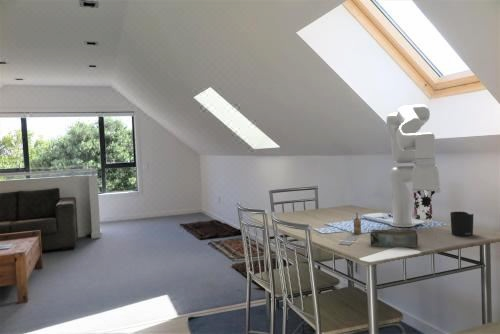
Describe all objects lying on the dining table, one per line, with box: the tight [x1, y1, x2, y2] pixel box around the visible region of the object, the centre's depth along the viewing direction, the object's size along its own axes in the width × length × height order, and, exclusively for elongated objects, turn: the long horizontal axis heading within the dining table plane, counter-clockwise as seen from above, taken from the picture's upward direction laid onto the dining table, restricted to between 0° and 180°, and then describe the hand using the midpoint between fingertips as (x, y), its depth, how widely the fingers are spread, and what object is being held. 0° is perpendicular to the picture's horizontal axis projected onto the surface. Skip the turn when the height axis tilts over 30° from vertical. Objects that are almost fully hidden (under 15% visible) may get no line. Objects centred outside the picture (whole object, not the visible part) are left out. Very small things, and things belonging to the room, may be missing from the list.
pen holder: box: [450, 211, 474, 237], centre depth 178 cm, size 9×9×10 cm
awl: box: [353, 211, 362, 235], centre depth 190 cm, size 3×3×11 cm
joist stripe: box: [337, 235, 359, 246], centre depth 176 cm, size 16×9×1 cm, turn 150°
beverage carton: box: [369, 229, 419, 248], centre depth 166 cm, size 8×19×7 cm, turn 70°
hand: (426, 206), depth 159 cm, fingers closed
